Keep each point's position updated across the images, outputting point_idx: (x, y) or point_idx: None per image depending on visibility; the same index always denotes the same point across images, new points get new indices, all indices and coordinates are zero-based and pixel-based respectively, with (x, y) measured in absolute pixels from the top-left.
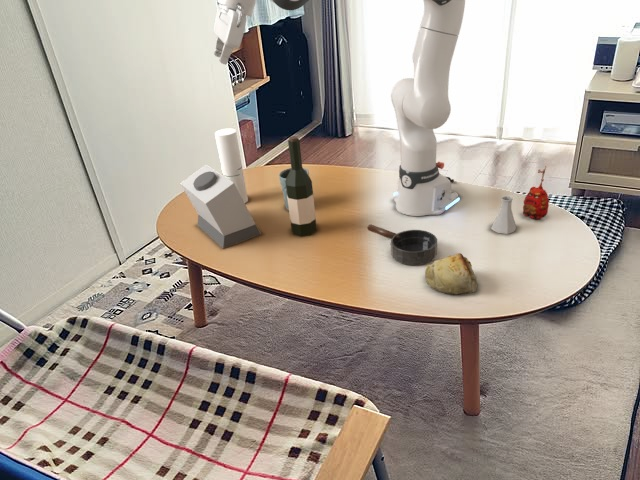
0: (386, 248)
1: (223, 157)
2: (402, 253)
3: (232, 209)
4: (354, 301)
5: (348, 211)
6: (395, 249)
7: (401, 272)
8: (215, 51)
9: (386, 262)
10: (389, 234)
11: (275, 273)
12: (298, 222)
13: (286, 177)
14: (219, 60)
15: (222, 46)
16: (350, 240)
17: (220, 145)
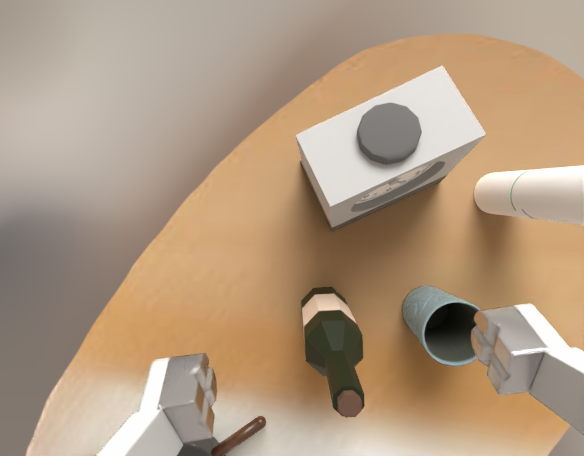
0: (221, 426)
1: (548, 179)
2: None
3: (318, 191)
4: (86, 352)
5: (370, 393)
6: None
7: None
8: (497, 332)
9: None
10: (220, 447)
11: (190, 247)
12: (303, 307)
13: (471, 312)
14: (198, 355)
15: (571, 417)
16: (263, 377)
17: (574, 176)
